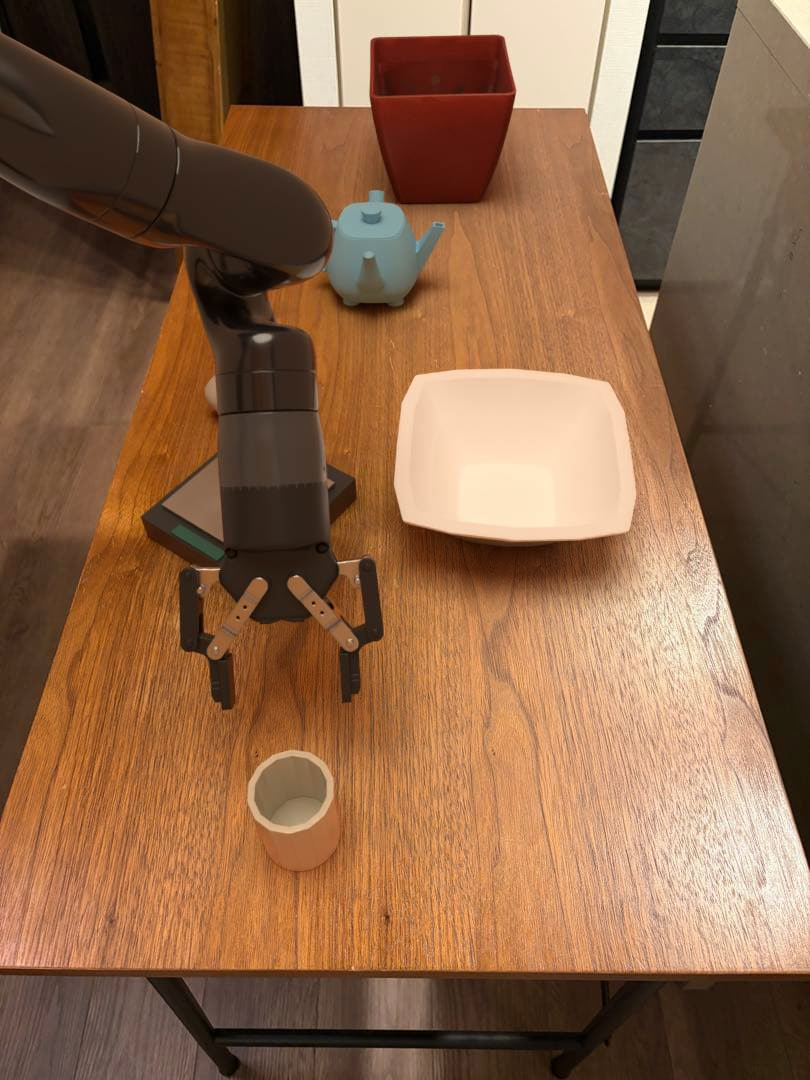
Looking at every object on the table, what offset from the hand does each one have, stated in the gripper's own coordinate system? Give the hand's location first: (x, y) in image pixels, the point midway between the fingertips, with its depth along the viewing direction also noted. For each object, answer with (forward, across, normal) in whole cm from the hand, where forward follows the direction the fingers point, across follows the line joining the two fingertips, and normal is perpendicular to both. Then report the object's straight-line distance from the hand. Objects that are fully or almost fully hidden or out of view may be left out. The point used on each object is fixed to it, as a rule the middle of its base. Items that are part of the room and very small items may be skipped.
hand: (288, 703), depth 61 cm
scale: (-12, -5, +26) cm, 29 cm away
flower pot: (-58, +20, +72) cm, 95 cm away
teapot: (-39, +9, +53) cm, 67 cm away
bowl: (-12, +20, +26) cm, 35 cm away
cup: (+11, 0, +3) cm, 11 cm away
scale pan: (-14, -5, +24) cm, 28 cm away
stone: (-25, -6, +39) cm, 47 cm away
